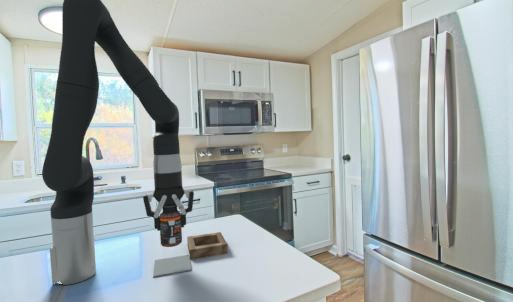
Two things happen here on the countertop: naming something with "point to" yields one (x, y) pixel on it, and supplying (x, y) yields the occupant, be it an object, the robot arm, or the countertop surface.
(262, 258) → the countertop surface
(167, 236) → the supplement bottle
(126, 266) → the countertop surface
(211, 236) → the socket collar
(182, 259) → the mat
